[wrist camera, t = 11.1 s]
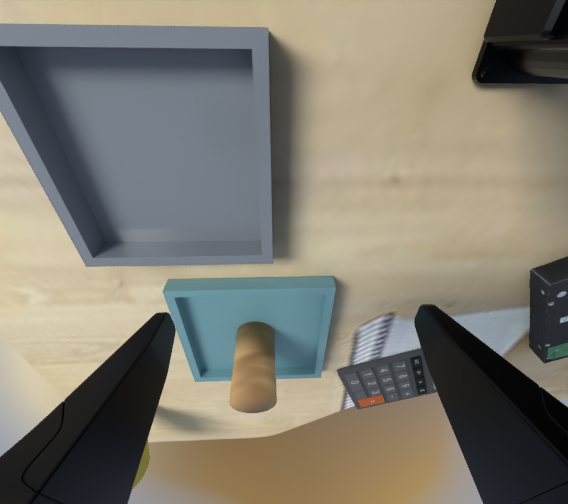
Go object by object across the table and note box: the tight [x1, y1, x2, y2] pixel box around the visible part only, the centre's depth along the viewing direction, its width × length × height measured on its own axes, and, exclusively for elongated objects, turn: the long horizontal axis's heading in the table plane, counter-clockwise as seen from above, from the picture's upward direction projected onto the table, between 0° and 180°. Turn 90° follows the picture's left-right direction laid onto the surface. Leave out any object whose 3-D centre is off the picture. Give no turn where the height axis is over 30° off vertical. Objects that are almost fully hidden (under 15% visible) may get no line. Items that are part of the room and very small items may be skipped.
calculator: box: [337, 348, 437, 409], centre depth 36 cm, size 12×1×15 cm
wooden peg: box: [229, 322, 277, 413], centre depth 26 cm, size 4×4×7 cm
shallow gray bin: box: [0, 24, 273, 267], centre depth 17 cm, size 14×14×2 cm
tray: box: [163, 276, 336, 382], centre depth 29 cm, size 15×15×2 cm
